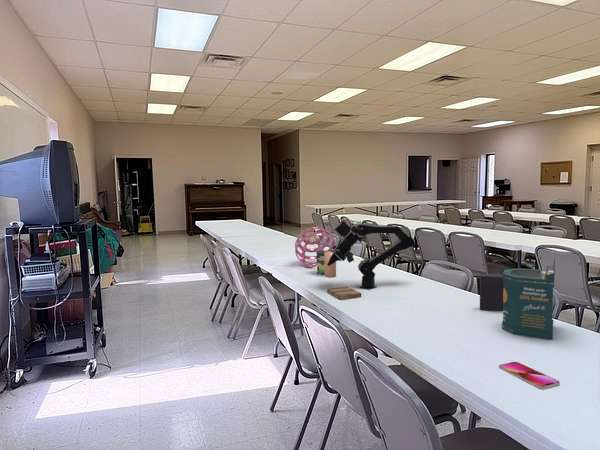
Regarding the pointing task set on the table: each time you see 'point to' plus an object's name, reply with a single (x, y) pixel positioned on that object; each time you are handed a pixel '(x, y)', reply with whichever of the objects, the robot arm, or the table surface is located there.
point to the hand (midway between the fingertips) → (327, 264)
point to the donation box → (529, 302)
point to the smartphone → (529, 375)
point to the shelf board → (344, 292)
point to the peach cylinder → (330, 270)
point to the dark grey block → (491, 292)
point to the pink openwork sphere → (307, 242)
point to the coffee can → (320, 263)
